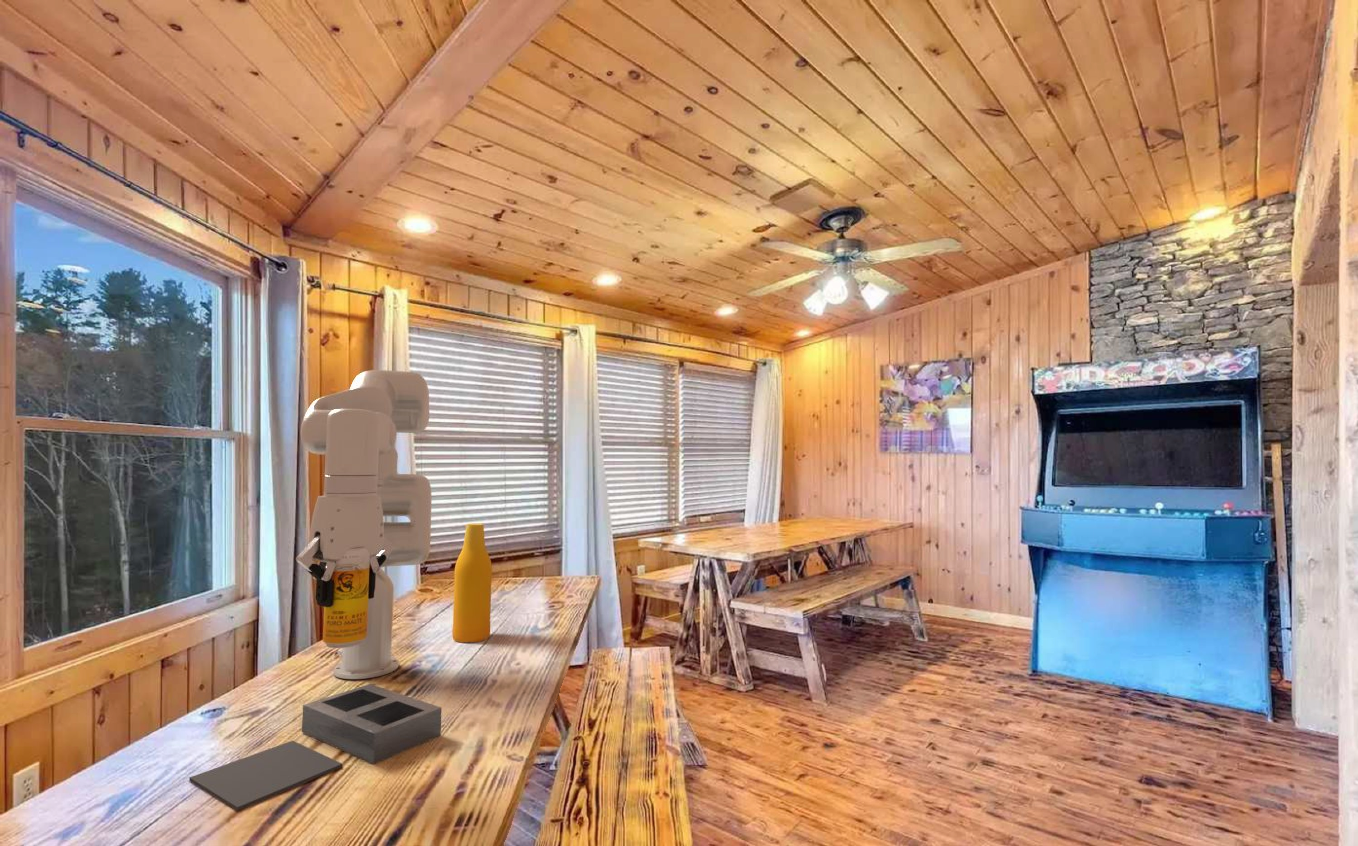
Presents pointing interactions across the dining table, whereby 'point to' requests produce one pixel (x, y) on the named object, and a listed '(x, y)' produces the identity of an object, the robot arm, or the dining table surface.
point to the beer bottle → (472, 588)
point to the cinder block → (371, 722)
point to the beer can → (348, 601)
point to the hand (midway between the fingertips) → (346, 600)
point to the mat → (264, 774)
